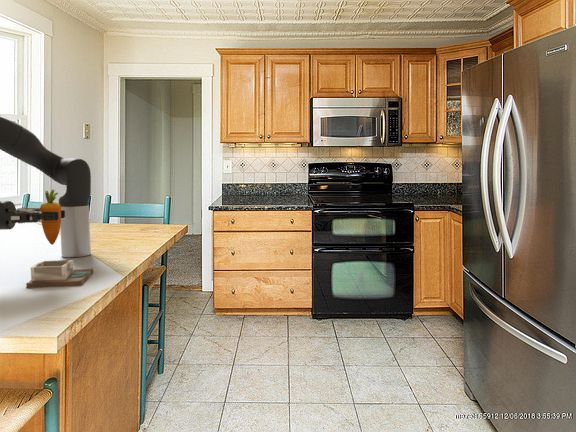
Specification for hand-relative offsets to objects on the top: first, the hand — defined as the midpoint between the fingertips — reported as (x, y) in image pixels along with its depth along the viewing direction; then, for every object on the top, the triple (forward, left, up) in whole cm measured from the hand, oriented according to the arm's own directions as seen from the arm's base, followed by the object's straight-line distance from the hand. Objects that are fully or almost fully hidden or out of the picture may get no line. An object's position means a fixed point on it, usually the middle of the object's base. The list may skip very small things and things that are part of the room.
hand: (61, 215), depth 122 cm
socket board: (+1, -1, -18) cm, 18 cm away
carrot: (0, -3, -8) cm, 9 cm away
